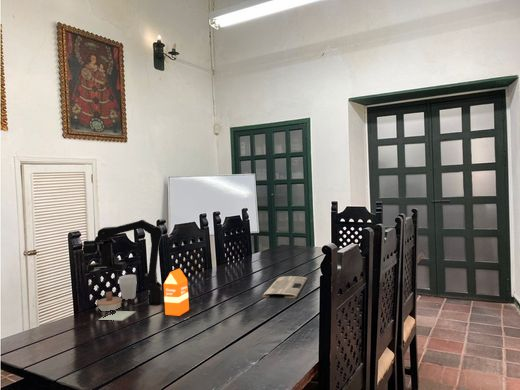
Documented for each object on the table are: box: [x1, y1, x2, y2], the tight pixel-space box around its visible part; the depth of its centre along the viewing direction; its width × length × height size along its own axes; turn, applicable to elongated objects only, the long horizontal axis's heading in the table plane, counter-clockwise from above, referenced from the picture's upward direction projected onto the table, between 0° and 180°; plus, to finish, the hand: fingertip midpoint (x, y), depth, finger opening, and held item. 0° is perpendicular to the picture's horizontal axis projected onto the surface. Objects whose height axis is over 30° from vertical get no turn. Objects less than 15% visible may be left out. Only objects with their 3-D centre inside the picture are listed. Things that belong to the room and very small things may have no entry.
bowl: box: [97, 301, 122, 311], centre depth 195 cm, size 10×10×4 cm
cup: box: [118, 274, 137, 301], centre depth 212 cm, size 9×9×12 cm
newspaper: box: [262, 275, 308, 299], centre depth 217 cm, size 37×19×3 cm, turn 165°
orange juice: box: [163, 268, 190, 317], centre depth 185 cm, size 8×9×20 cm
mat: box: [98, 310, 136, 322], centre depth 183 cm, size 12×12×1 cm
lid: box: [96, 291, 123, 306], centre depth 195 cm, size 12×12×5 cm
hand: (108, 283), depth 196 cm, fingers open, 9 cm apart
